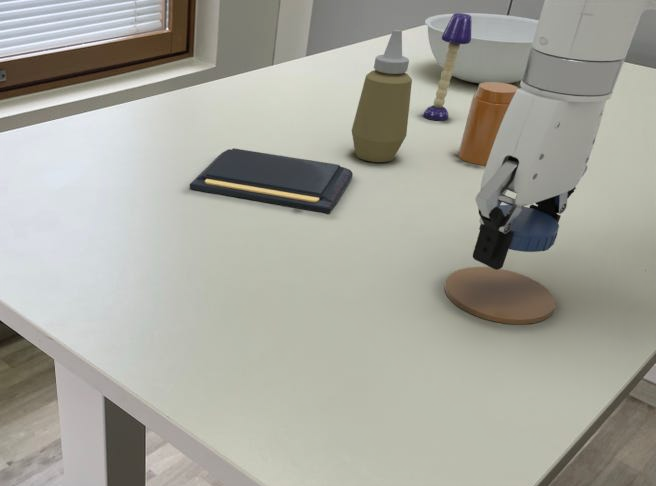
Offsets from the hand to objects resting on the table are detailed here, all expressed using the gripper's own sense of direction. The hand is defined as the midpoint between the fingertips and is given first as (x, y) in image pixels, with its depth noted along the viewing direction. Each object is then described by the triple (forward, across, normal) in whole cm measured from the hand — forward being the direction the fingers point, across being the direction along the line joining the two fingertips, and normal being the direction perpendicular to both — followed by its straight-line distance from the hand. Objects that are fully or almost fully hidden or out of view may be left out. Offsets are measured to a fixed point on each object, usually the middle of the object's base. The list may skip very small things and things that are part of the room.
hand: (510, 253), depth 74 cm
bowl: (+5, -74, -58) cm, 93 cm away
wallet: (+5, 0, -37) cm, 37 cm away
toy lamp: (+5, -44, -45) cm, 63 cm away
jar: (+5, -34, -28) cm, 44 cm away
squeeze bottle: (+5, -20, -37) cm, 42 cm away
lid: (-3, 0, 0) cm, 3 cm away
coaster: (+5, 0, 0) cm, 5 cm away
